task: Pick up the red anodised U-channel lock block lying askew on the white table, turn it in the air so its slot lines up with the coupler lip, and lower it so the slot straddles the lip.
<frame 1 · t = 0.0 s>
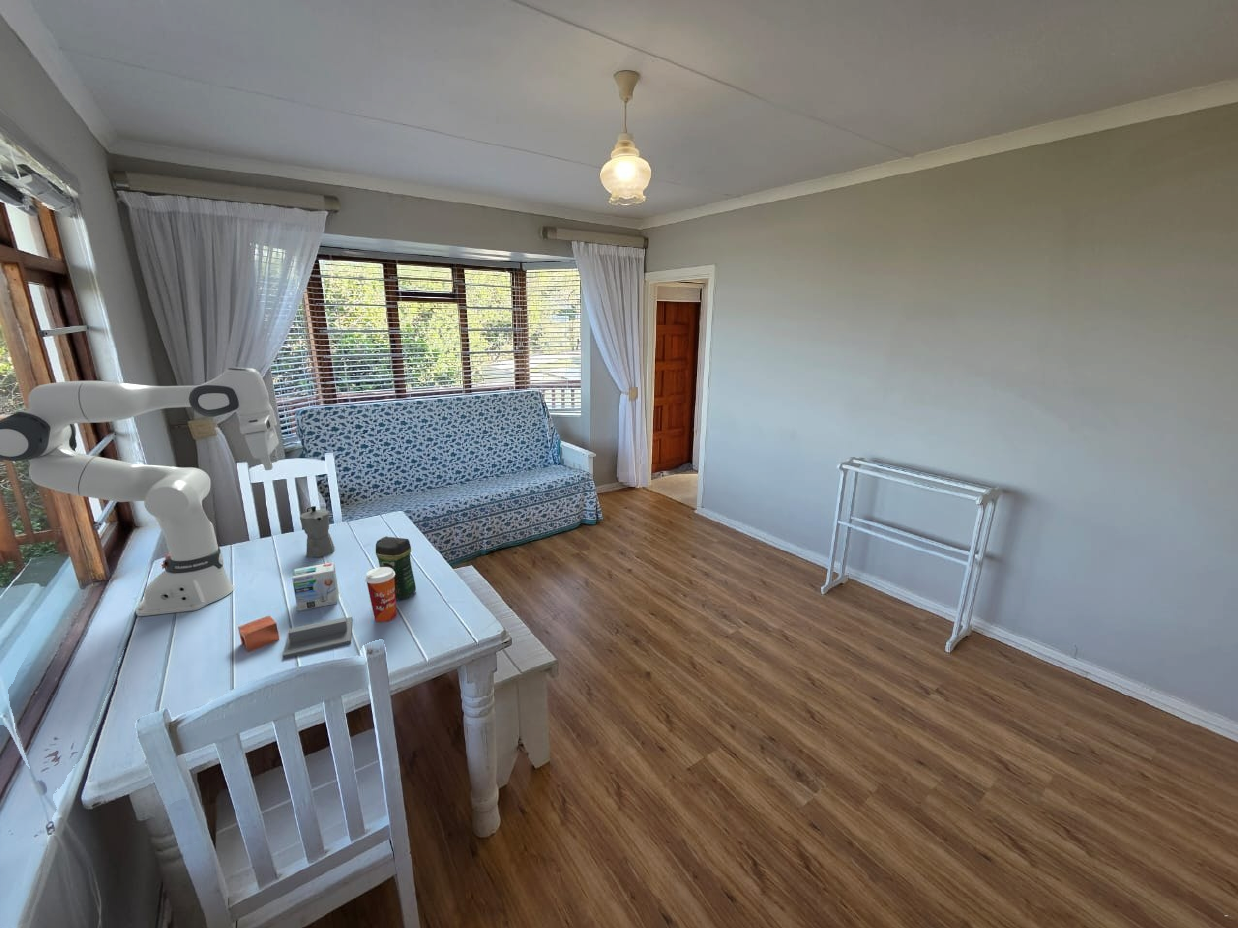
hand: (272, 465, 152), 39 cm above the table, tool pointing down, fingers open, 8 cm apart
coffee jar: (399, 594, 155), on the table
lock block: (260, 641, 131), on the table
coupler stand: (320, 638, 132), on the table
light bulb box: (319, 602, 150), on the table
paper cup: (385, 617, 142), on the table
coffeepot: (320, 552, 183), on the table
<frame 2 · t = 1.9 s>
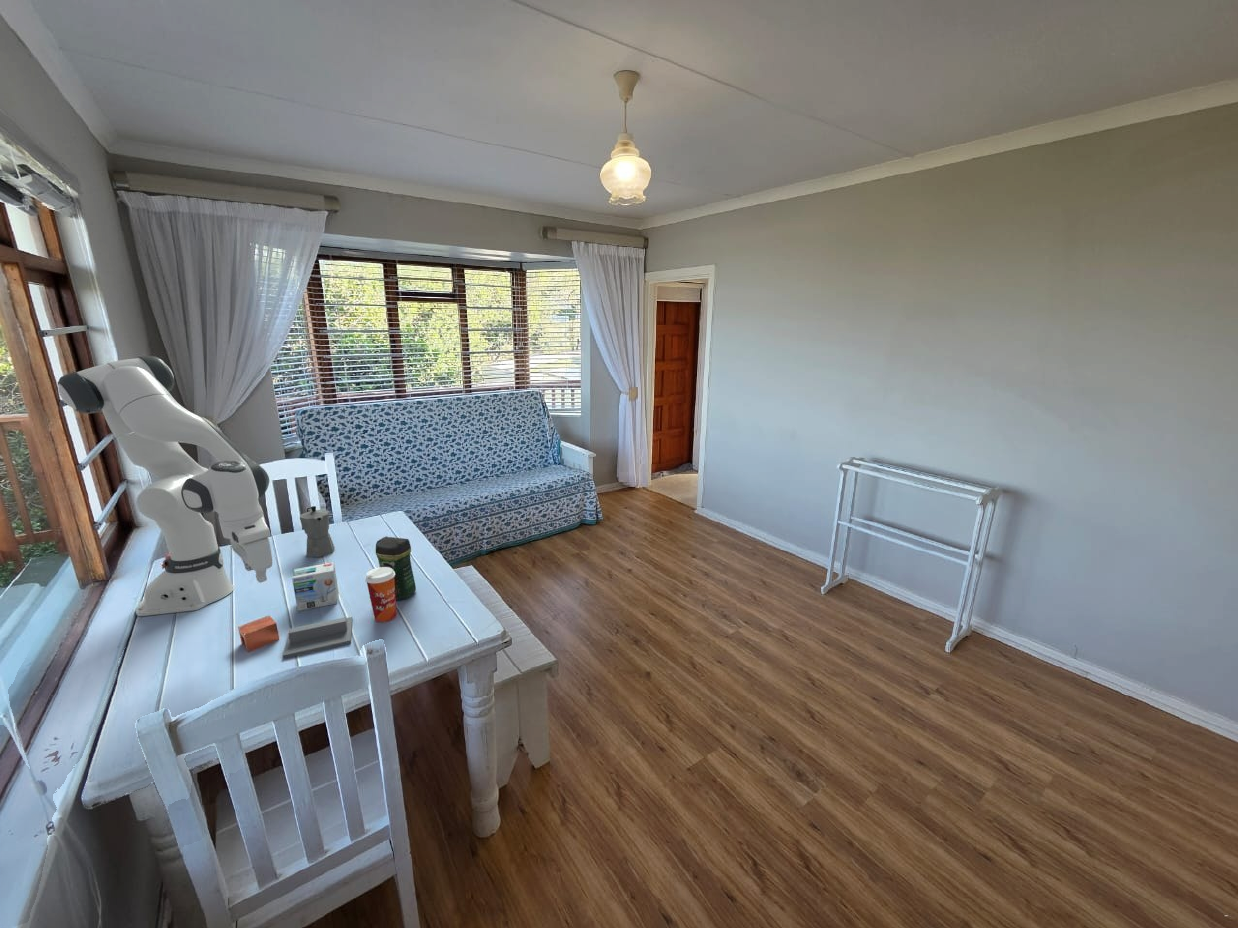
hand: (256, 575, 128), 18 cm above the table, tool pointing down, fingers open, 8 cm apart
nothing on the table moved.
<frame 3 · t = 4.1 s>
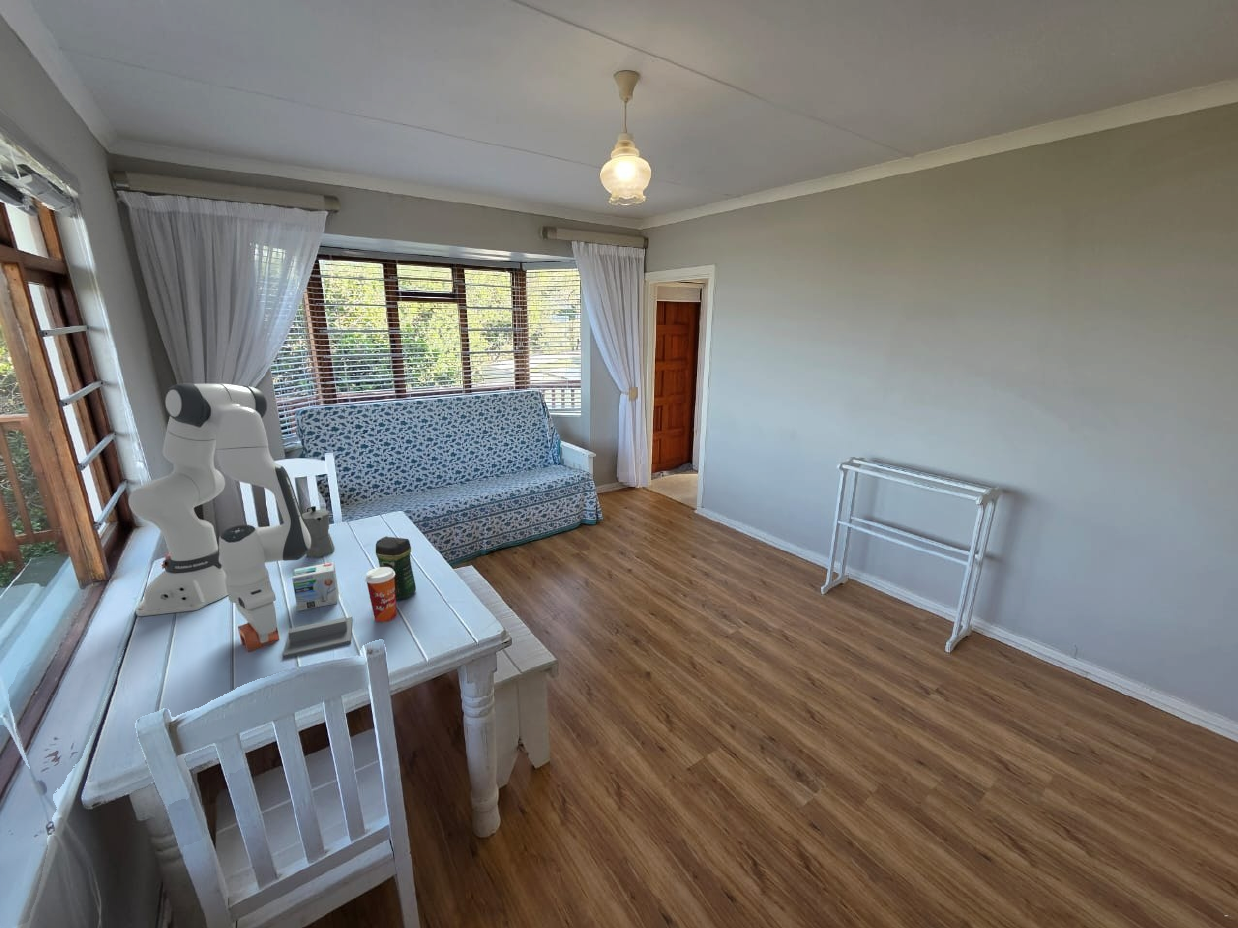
hand: (259, 635, 130), 2 cm above the table, tool pointing down, fingers closed on lock block, 5 cm apart
lock block: (260, 641, 131), on the table, touching gripper
everything else where it was.
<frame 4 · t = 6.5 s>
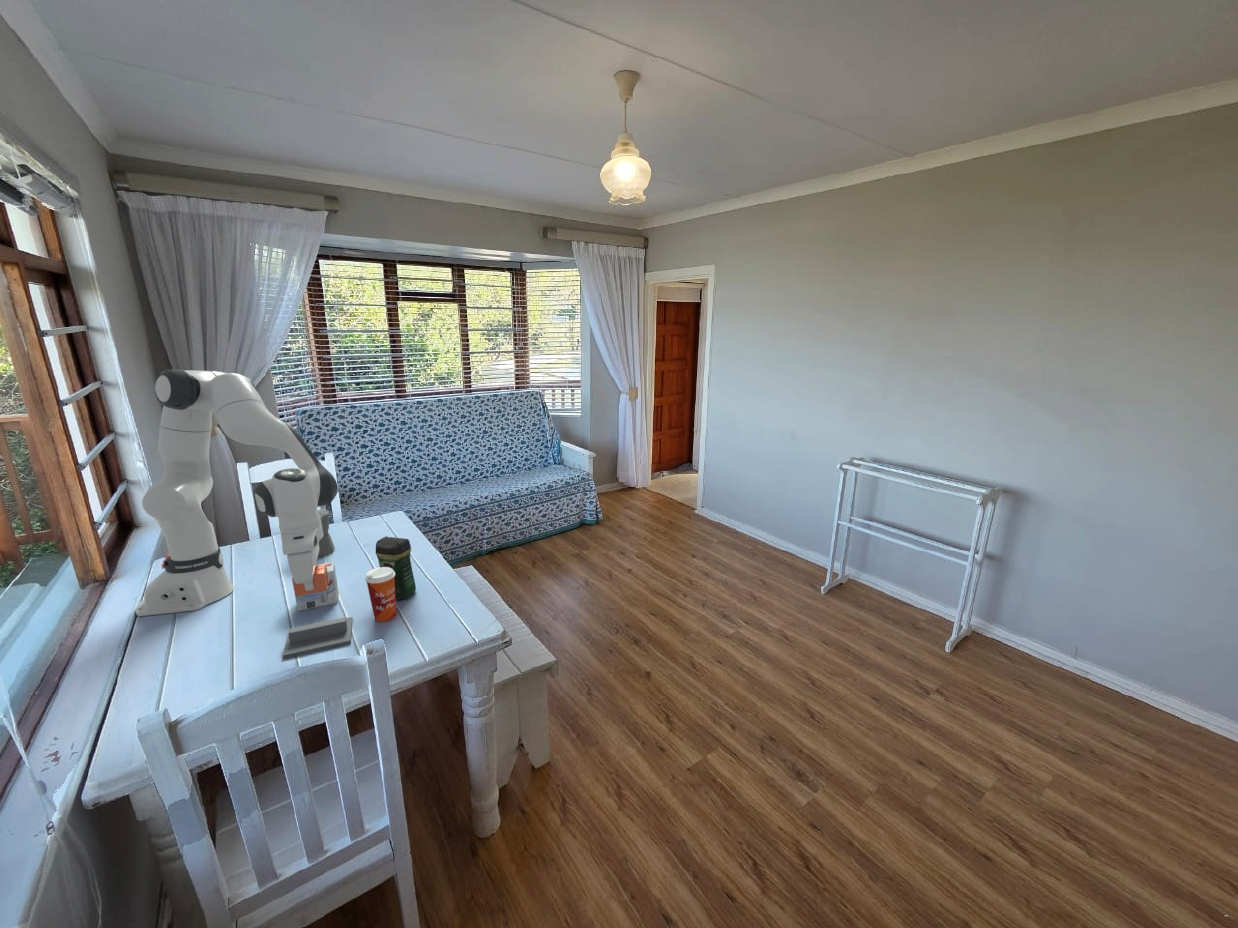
hand: (311, 582, 128), 16 cm above the table, tool pointing down, fingers closed on lock block, 5 cm apart
lock block: (312, 588, 129), point 15 cm above the table, touching gripper
everything else where it was.
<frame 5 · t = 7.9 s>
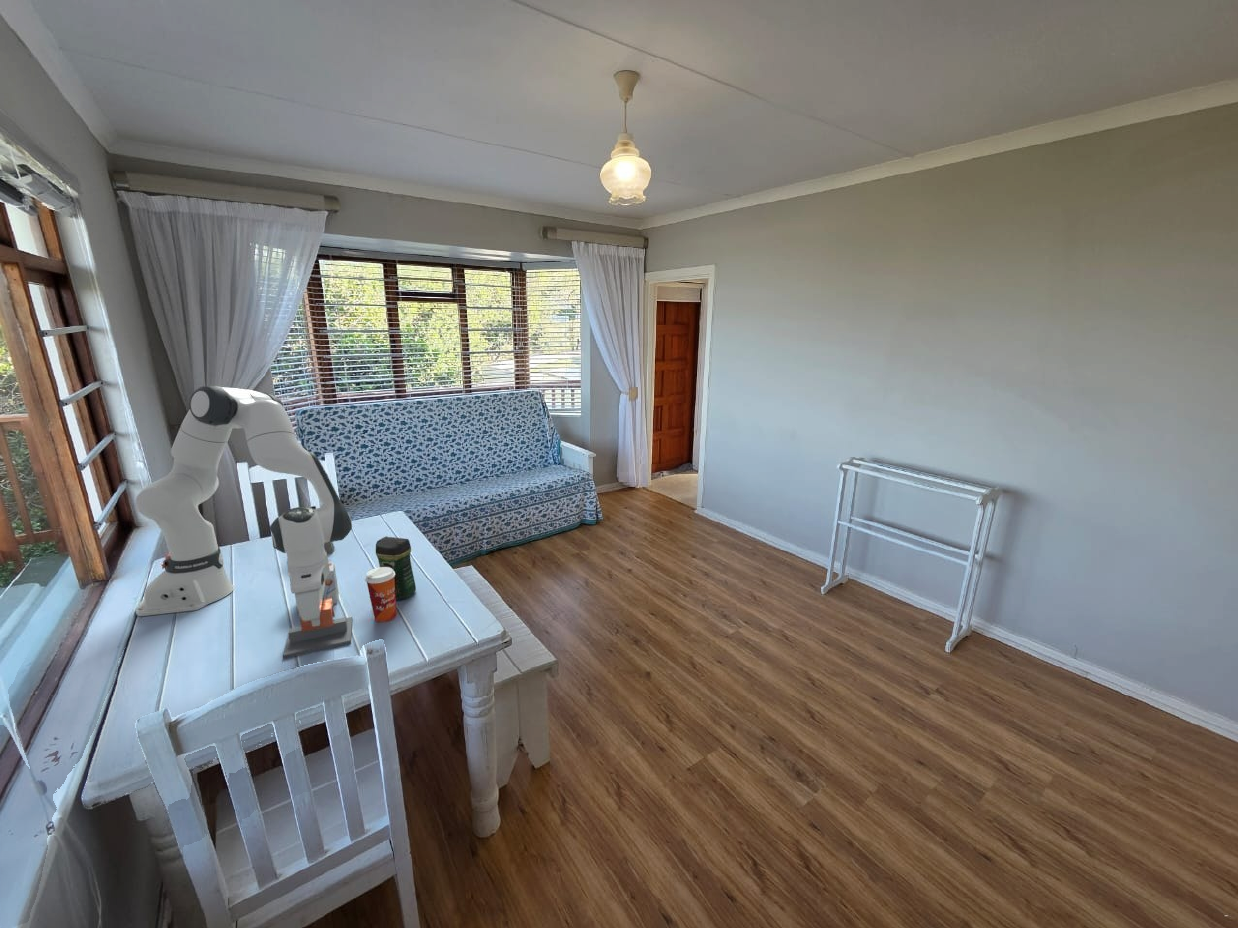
hand: (317, 617, 131), 6 cm above the table, tool pointing down, fingers closed on lock block, 5 cm apart
lock block: (319, 623, 131), point 4 cm above the table, touching gripper
everything else where it was.
when the fingers open (4 cm above the table, at t = 8.7 s): lock block drops 1 cm, resting on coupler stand.
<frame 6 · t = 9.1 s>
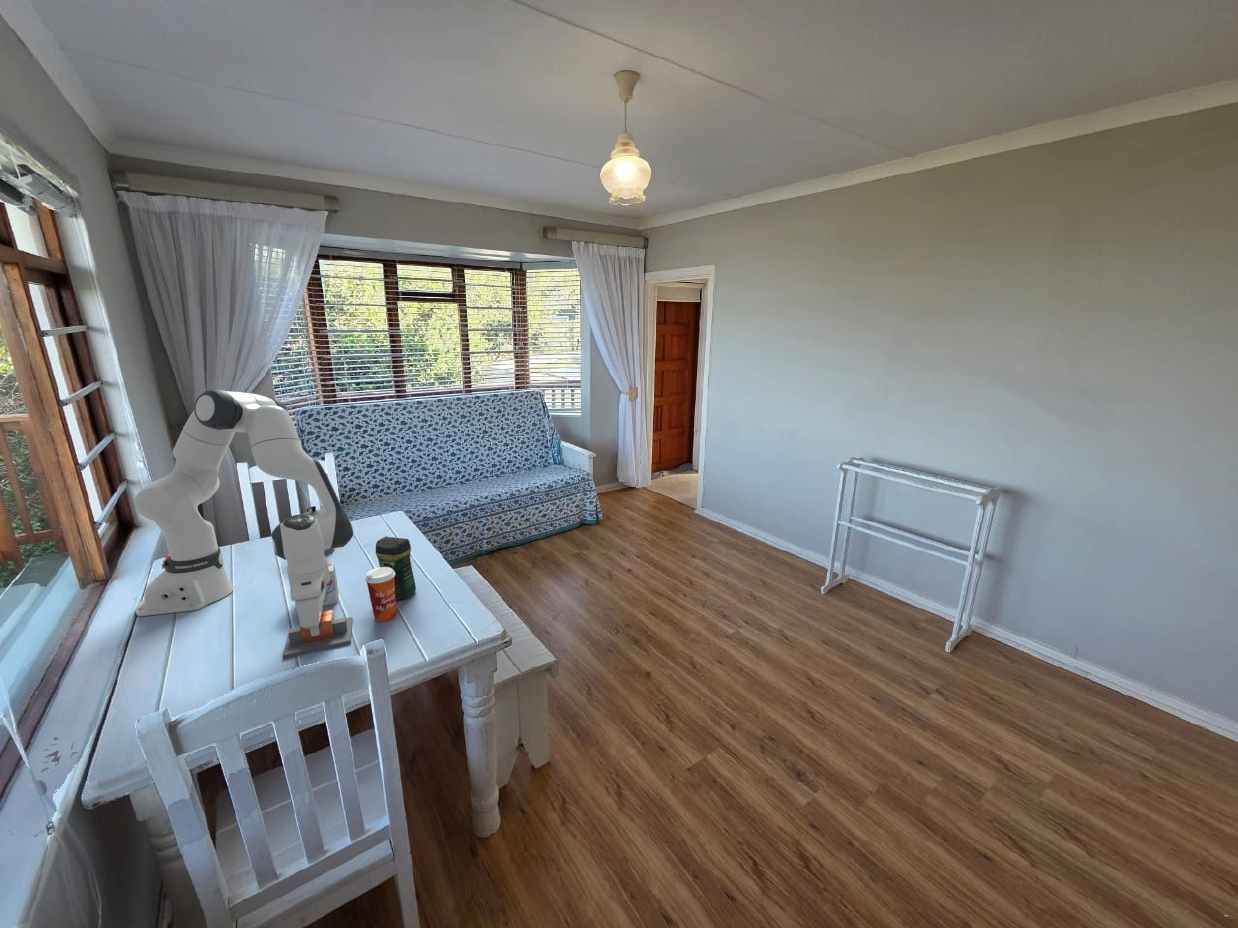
hand: (317, 624, 131), 4 cm above the table, tool pointing down, fingers open, 8 cm apart
lock block: (319, 634, 132), point 1 cm above the table, touching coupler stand
everything else where it was.
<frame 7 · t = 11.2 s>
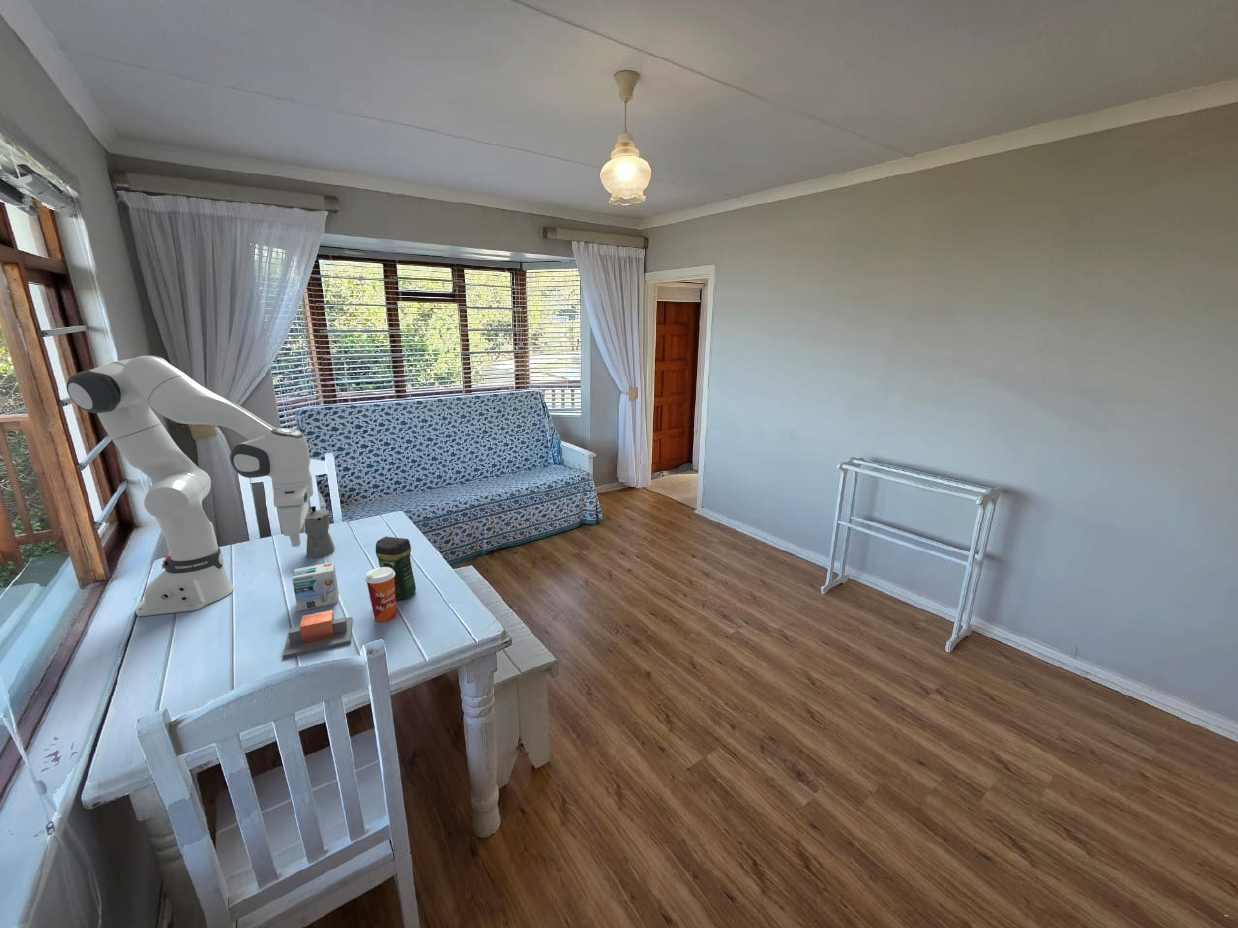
hand: (298, 538, 134), 25 cm above the table, tool pointing down, fingers open, 8 cm apart
nothing on the table moved.
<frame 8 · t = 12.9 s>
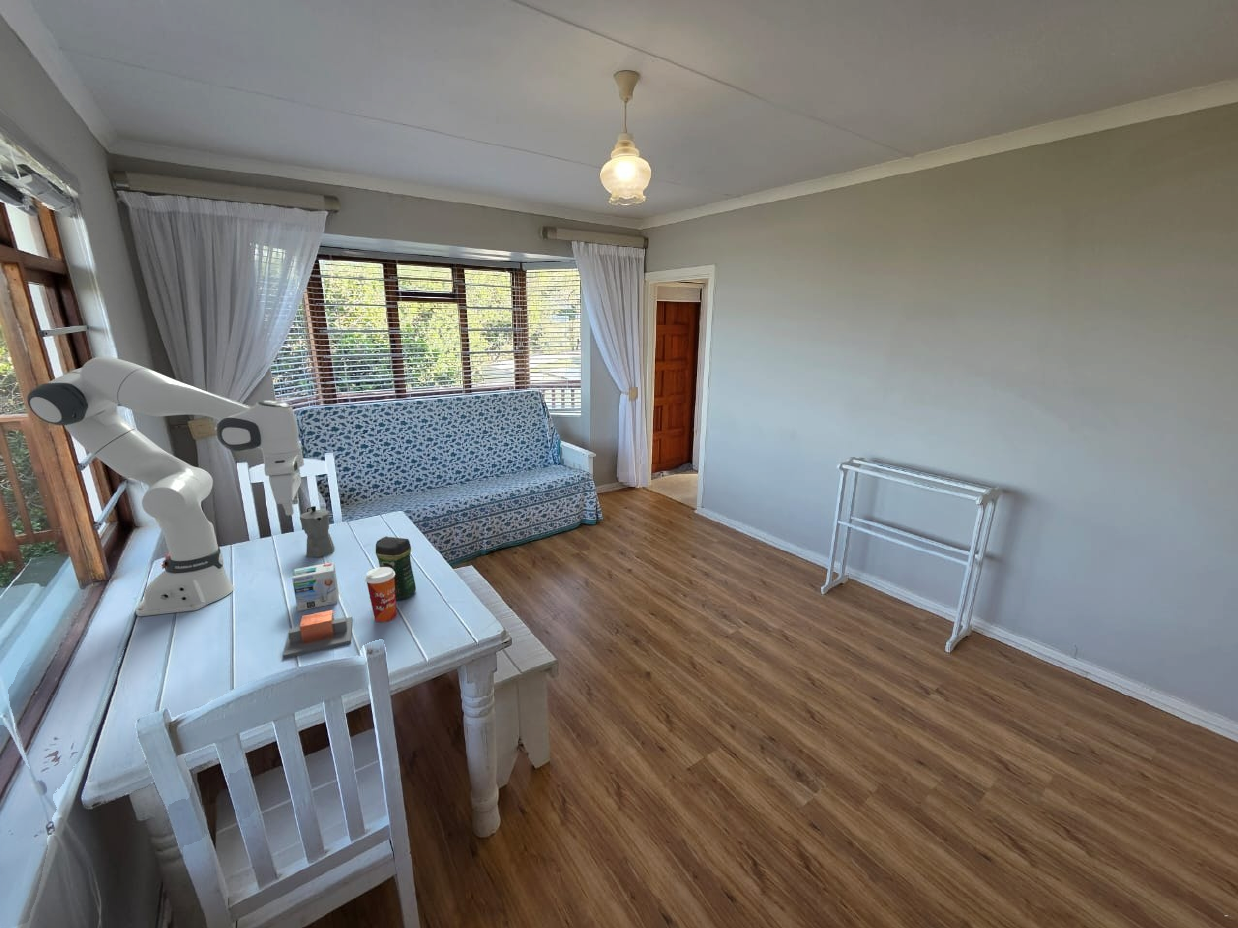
hand: (292, 508, 138), 31 cm above the table, tool pointing down, fingers open, 8 cm apart
nothing on the table moved.
at the end: lock block 0.1 cm off-centre on the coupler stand, point 1.0 cm above the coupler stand's base; lock block tilted 0°; the gripper is holding nothing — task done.
